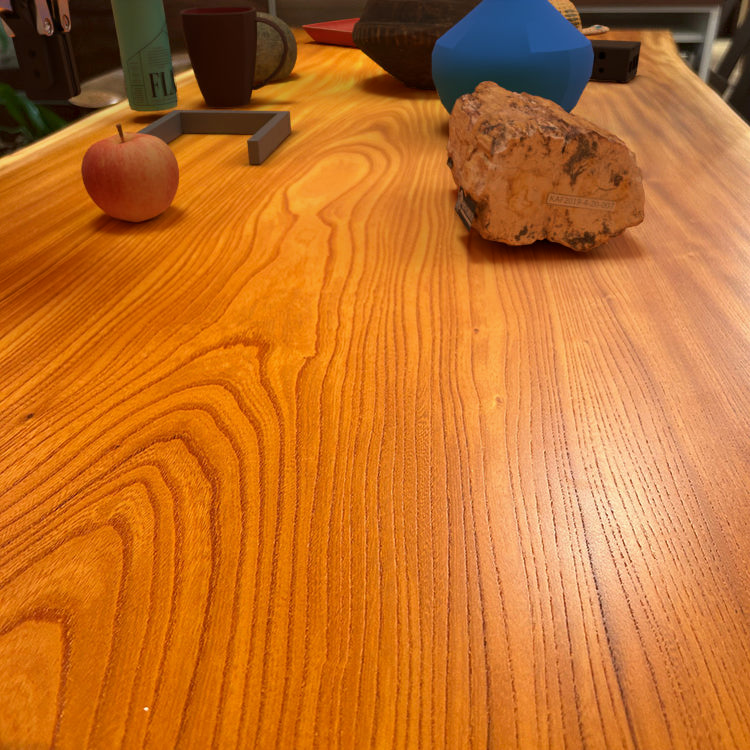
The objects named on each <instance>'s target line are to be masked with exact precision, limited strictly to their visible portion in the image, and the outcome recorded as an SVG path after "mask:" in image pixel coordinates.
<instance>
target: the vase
mask: <svg viewBox="0 0 750 750" xmlns="http://www.w3.org/2000/svg"><path fill="white" fill-rule="evenodd" d="M589 39H590V38H587V36H584V35H583V34H582V33H581V32H580V31H579V30H578V29H577V28H576V27H575V26H573V25H572V24H571V23H570V22H569V21H568V20H567V19H566V18H565V17H564V16H563V15H562V14H561V13H560V12H559V11H558V10H557V9H556V8H555V7H554V6H553V5H552V4H551V3H550V2H549V1H548V0H483V1H482V2H481V3H480V4H479V5H477V6H476V7H475V8H474V9H473V10H472V11H471V12H470V13H469V14H468V15H466V16H465V17H464V18H463V19H462V20H461V21H459V22H458V23H457V24H456V25H455V26H453V27H452V28H451V29H450V30H449V31H447V32H446V33H445V34H444V35H443V36H441V37H440V38H439V39H438V40H437V41H436V44H435V46H434V49H433V52H432V78H433V81H434V84H435V87H436V89H435V90H436V92H437V95H438V98H439V100H440V103H441V105H442V106H443V107H444V109H445V110H446V112H447V113H448V115H449V116H450V115H451V112H452V110H453V107H454V105H455V103H456V100H457V99H458V98H460V97H461V96H462V95H465V94H468V93H469V94H472V93H473V92H475V88H476V87H477V86H478V85H479V84H480V83H482V82H485V81H491V82H494V83H496V84H497V85H499V86H500V87H502V88H504V89H506V90H507V91H511V92H513V93H514V92H516V93H518V94H521V93H522V92H525V93H527V94H529V95H532V96H539V97H542V98H544V99H547V100H551V101H553V102H554V103H556V104H557V105H559V106H561V107H562V108H563V109H564V111H566V112H567V113H572V111H573V110H574V109H575V108H576V107H577V104H578V103H579V100H581V97H582V95H583V93H584V91H585V89H586V87H587V85H588V83H589V81H590V80H589V79H590V77H591V75H592V68H593V60H594V53H593V48H592V44H591V41H590V40H589Z"/></svg>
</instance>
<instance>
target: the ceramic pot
mask: <svg viewBox="0 0 750 750" xmlns="http://www.w3.org/2000/svg"><path fill="white" fill-rule="evenodd" d="M482 1H483V0H367V2H366V3H365V6H364V8H363V10H362V13H361V16H360V17H359V18H360V20H359V21H358V22H356V23H355V25H354V28H353V31H352V39H353V43H354V44H355V45H356V46H357V47H356V48H358V49H359V51H360V52H361V53H363V55H366V57H368V59H370V60H371V61H372V62H374V63H375V64H376V65H377V66H379V67H380V68H381V69H382V70H384V71H385V72H386V73H387V74H389V75H390V76H391V77H392V78H394V79H395V80H397V81H398V82H400V83H401V84H402V85H404V86H405V87H407V88H411V89H419V90H437V89H436V87H435V84H434V81H433V78H432V52H433V49H434V46H435V44H436V41H437V40H438V39H439V38H440V37H441V36H443V35H444V34H445V33H446V32H447V31H449V30H450V29H451V28H452V27H453V26H455V25H456V24H457V23H458V22H459V21H461V20H462V19H463V18H464V17H465V16H466V15H468V14H469V13H470V12H471V11H472V10H473V9H474V8H475V7H476V6H477V5H479V4H480V3H481V2H482Z"/></svg>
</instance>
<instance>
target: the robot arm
mask: <svg viewBox="0 0 750 750" xmlns="http://www.w3.org/2000/svg"><path fill="white" fill-rule="evenodd" d="M69 2H70V0H0V20H1V24H2V26H3V29H4V32H5V34H6V35H7V36H8V38H11V42H12V45H13V49H14V53H15V56H16V60H17V61H16V62H17V64H18V65H17V66H18V68H19V69H18V70H19V72H20V77H21V81H22V86H23V89H24V93H25V96H26V98H27V99H28V100H30V101H69V100H71V99H73V98H76V97H78V96H81V93H82V88H81V87H82V86H81V83H80V78H79V73H78V69H77V64H76V59H75V54H74V49H73V45H72V40H71V35H70V31H71V29H72V20H71V14H70V7H69Z"/></svg>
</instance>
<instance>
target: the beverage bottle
mask: <svg viewBox="0 0 750 750" xmlns="http://www.w3.org/2000/svg"><path fill="white" fill-rule="evenodd" d="M110 5H111V8H112V15H113V20H114V24H115V25H114V26H115V31H116V36H117V43H118V49H119V56H120V64H121V68H120V70H122V71H121V74H122V77H123V86H124V90H125V95H126V99H127V100H126V102H127V103H128V106H129V108H130V110H131V111H133V112H134V111H135V112H142V113H143V112H145V113H146V112H147V113H148V112H149V113H151V112H152V113H153V112H162V111H163V112H164V111H168V110H173V109H175V108H176V107H178V102H179V97H178V96H179V94H178V86H177V83H176V80H177V79H176V77H175V75H176V73H175V72H176V70H175V67H174V66H173V58H172V52H171V46H170V43H171V42H170V38H169V36H170V32H169V31H168V18H167V17H166V13H167V12H166V10H165V6H164V0H110Z"/></svg>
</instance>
